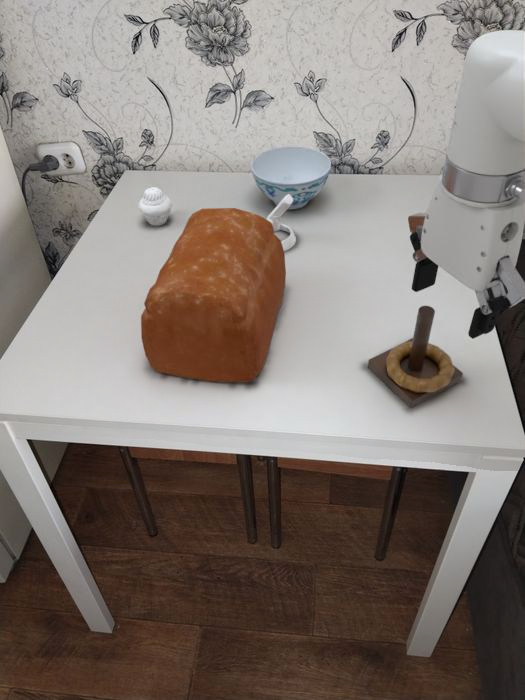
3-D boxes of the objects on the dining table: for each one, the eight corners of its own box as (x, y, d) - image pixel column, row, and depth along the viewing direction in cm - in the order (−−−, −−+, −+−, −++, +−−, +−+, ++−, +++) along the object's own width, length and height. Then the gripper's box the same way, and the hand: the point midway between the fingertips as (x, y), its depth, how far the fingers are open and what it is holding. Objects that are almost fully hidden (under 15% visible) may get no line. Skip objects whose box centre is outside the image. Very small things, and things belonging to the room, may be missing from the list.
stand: (461, 380, 80) (479, 317, 72) (410, 408, 77) (424, 345, 69) (416, 342, 86) (428, 279, 78) (367, 367, 83) (375, 304, 75)
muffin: (149, 211, 115) (143, 178, 110) (178, 214, 114) (173, 181, 109) (136, 228, 111) (129, 194, 106) (166, 232, 109) (160, 198, 104)
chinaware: (329, 182, 121) (331, 146, 115) (328, 222, 110) (330, 184, 104) (257, 181, 122) (255, 145, 117) (248, 220, 111) (246, 183, 106)
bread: (289, 281, 98) (289, 201, 87) (259, 389, 80) (254, 305, 70) (190, 271, 100) (179, 193, 90) (141, 374, 83) (120, 291, 73)
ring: (466, 378, 79) (469, 368, 77) (415, 404, 76) (417, 395, 74) (421, 340, 84) (423, 330, 83) (372, 363, 81) (373, 354, 80)
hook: (311, 238, 97) (275, 214, 95) (276, 270, 107) (244, 249, 105) (323, 207, 101) (289, 183, 99) (289, 241, 111) (258, 220, 109)
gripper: (583, 203, 53) (530, 340, 65) (450, 133, 64) (426, 262, 76) (523, 227, 51) (479, 366, 63) (396, 151, 62) (379, 281, 74)
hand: (450, 309), depth 69 cm, fingers open, 9 cm apart
